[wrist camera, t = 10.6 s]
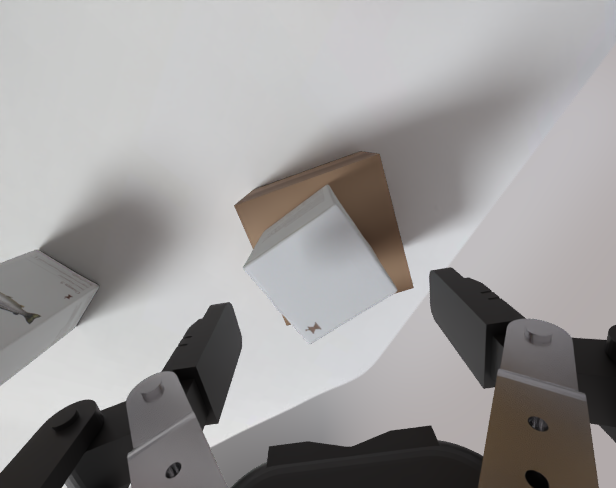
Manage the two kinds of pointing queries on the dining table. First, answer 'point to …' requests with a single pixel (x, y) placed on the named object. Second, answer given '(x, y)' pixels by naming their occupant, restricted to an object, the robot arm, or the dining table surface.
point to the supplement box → (37, 307)
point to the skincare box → (318, 267)
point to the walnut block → (353, 197)
